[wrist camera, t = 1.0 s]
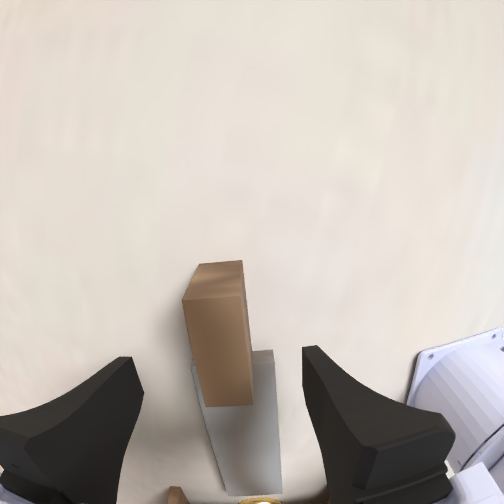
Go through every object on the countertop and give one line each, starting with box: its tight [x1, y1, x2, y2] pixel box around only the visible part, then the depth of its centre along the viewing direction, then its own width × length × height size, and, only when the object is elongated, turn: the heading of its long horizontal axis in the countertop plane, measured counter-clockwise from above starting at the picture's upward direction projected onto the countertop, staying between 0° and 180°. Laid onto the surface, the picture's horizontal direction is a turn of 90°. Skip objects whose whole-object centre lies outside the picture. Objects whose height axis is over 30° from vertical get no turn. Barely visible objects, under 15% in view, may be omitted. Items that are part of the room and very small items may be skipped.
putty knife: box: [182, 260, 282, 496], centre depth 18 cm, size 5×22×5 cm, turn 5°
